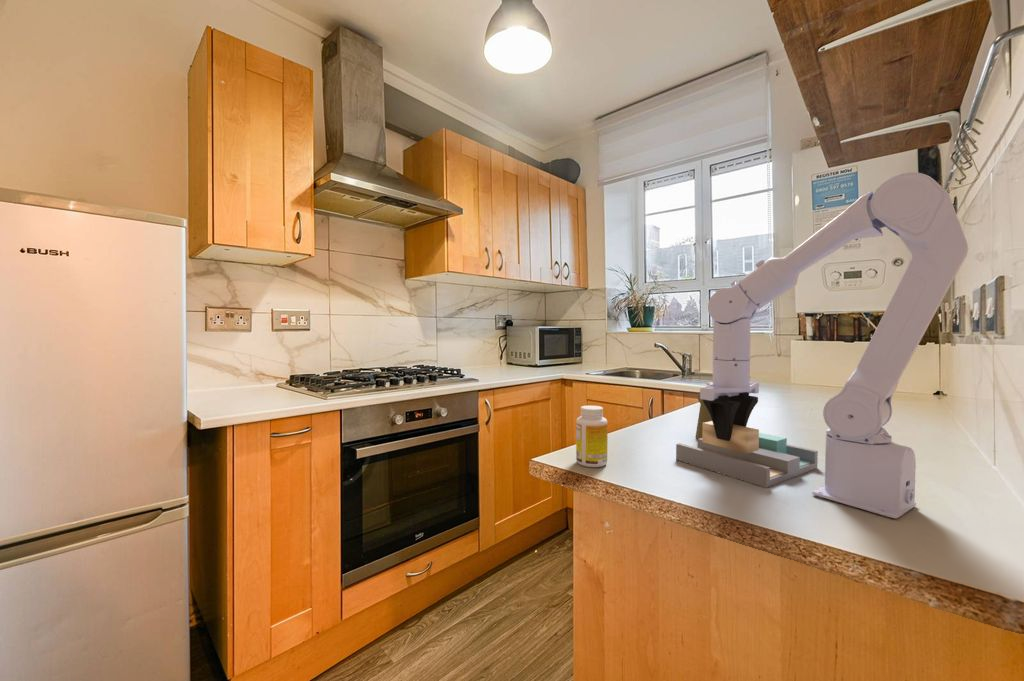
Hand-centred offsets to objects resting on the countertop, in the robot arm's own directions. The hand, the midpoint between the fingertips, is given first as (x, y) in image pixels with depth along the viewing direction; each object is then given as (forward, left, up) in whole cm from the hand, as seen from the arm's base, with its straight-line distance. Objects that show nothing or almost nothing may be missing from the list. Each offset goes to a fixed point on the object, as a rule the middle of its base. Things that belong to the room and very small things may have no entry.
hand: (730, 437), depth 73 cm
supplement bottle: (+15, +18, -6) cm, 24 cm away
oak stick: (0, 0, -2) cm, 2 cm away
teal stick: (0, -10, -4) cm, 10 cm away
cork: (+13, -15, -6) cm, 20 cm away
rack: (0, -5, -5) cm, 7 cm away
